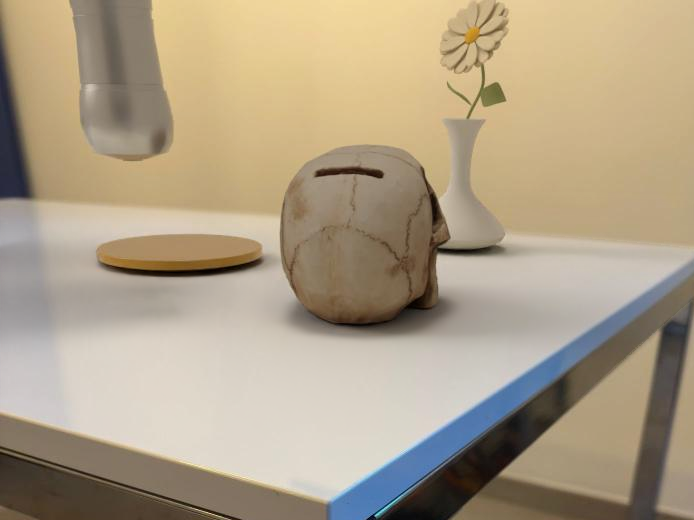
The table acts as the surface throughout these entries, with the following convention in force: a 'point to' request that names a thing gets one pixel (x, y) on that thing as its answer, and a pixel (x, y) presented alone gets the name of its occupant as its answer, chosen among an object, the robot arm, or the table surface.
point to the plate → (179, 252)
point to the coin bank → (362, 234)
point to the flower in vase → (470, 121)
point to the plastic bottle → (121, 80)
